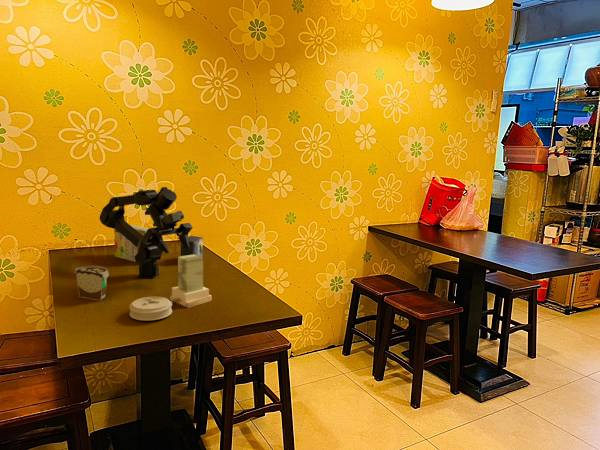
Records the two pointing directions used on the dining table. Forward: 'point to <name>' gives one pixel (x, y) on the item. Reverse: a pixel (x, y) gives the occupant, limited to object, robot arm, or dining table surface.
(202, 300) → the tower base slab
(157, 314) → the lid
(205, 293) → the tower top slab
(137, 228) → the snack box
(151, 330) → the dining table surface
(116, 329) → the dining table surface
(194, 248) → the small box
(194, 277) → the pillar block
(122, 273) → the dining table surface
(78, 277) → the food container
